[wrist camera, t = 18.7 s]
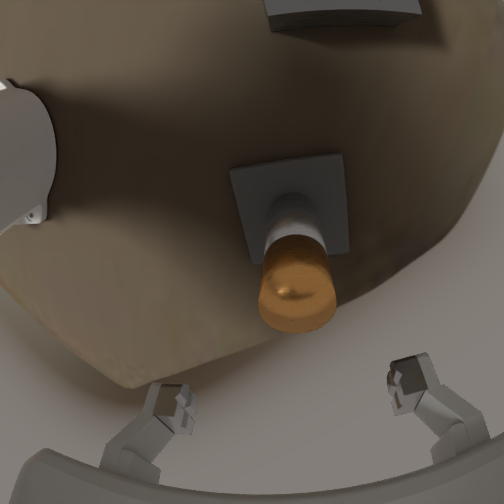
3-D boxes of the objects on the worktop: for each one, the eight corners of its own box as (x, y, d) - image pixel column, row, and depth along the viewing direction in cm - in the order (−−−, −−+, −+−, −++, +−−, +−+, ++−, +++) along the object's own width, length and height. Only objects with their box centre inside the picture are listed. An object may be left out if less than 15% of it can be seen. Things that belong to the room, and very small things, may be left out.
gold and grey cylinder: (264, 196, 23) (250, 280, 14) (314, 189, 22) (335, 270, 13) (273, 238, 25) (265, 336, 16) (319, 233, 24) (337, 329, 15)
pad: (253, 260, 27) (252, 265, 27) (230, 168, 23) (228, 171, 22) (348, 248, 25) (349, 252, 25) (340, 152, 21) (342, 154, 20)
